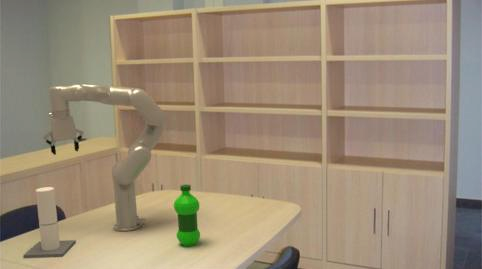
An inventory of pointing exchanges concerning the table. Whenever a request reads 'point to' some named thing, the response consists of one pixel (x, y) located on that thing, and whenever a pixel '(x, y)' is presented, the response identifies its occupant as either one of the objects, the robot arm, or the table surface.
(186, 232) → the plastic bottle
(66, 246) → the charcoal mat
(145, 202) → the table surface
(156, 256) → the table surface
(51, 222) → the cylindrical container
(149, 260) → the table surface
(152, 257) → the table surface
